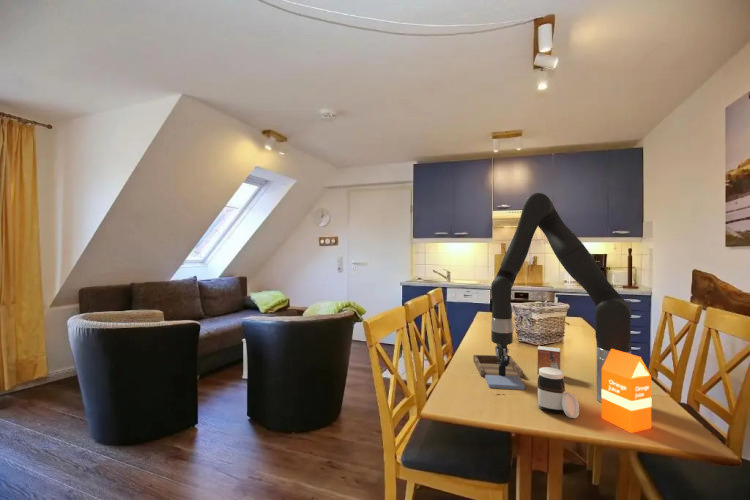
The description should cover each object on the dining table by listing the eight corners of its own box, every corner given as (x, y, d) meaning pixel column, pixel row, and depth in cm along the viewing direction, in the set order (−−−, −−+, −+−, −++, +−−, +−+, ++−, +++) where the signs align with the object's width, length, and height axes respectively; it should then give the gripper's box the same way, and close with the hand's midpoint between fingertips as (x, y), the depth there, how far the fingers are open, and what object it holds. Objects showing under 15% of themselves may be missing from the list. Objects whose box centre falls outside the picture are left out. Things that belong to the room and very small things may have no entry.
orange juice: (620, 413, 105) (620, 347, 105) (651, 428, 97) (651, 355, 97) (601, 418, 103) (600, 349, 103) (631, 433, 95) (631, 358, 94)
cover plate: (525, 393, 122) (525, 386, 122) (489, 391, 123) (489, 384, 123) (518, 383, 130) (518, 376, 130) (485, 381, 132) (485, 374, 132)
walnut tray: (522, 380, 132) (522, 370, 132) (481, 378, 134) (481, 369, 134) (510, 364, 150) (510, 355, 150) (473, 362, 152) (473, 354, 152)
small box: (537, 376, 136) (536, 349, 136) (537, 371, 141) (537, 345, 141) (560, 379, 132) (560, 351, 132) (560, 374, 137) (560, 347, 137)
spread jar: (538, 399, 116) (538, 364, 116) (578, 406, 110) (578, 369, 110) (536, 415, 105) (536, 376, 105) (580, 423, 100) (580, 382, 100)
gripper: (517, 334, 125) (517, 382, 125) (507, 325, 138) (507, 369, 139) (495, 333, 126) (495, 382, 126) (488, 325, 139) (488, 369, 139)
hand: (502, 375), depth 132 cm, fingers closed
